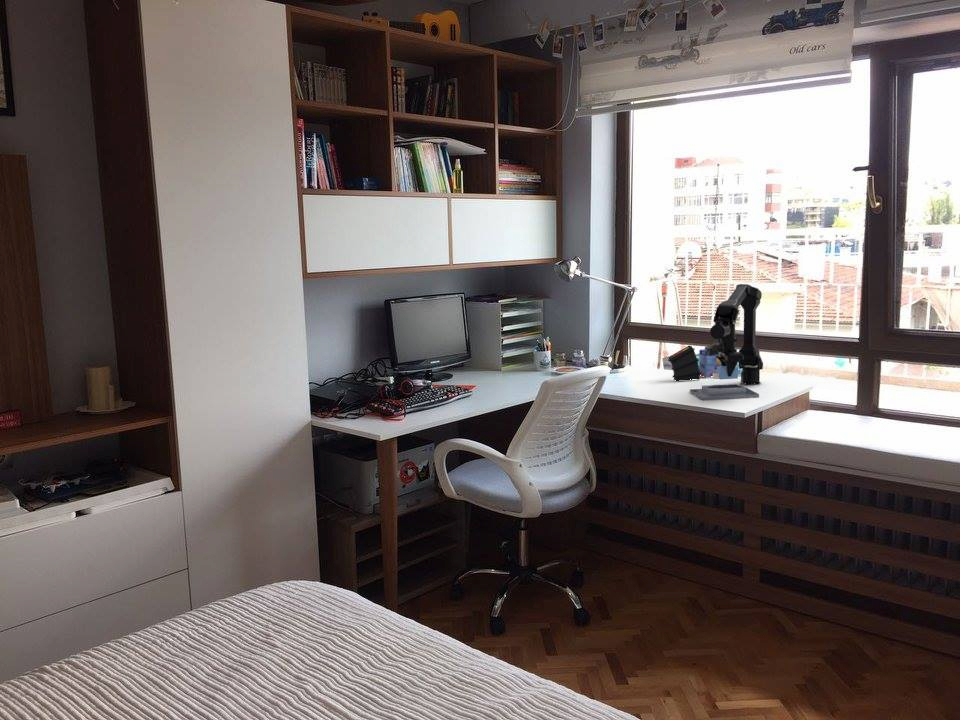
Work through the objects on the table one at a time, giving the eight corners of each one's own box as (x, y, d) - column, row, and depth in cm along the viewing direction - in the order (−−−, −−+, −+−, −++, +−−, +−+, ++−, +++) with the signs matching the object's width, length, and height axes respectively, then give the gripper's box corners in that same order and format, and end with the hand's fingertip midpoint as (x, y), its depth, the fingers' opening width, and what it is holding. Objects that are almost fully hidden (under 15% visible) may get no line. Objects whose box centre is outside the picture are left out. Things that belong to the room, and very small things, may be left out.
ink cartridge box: (706, 378, 354) (705, 345, 352) (698, 376, 359) (698, 344, 357) (724, 376, 357) (724, 343, 355) (716, 374, 363) (716, 342, 360)
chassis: (743, 389, 327) (743, 381, 326) (759, 397, 311) (759, 388, 310) (689, 392, 326) (689, 384, 325) (702, 400, 310) (702, 392, 310)
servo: (734, 376, 320) (734, 363, 319) (737, 378, 316) (737, 365, 315) (711, 377, 319) (711, 364, 318) (715, 379, 315) (715, 366, 315)
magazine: (707, 375, 351) (692, 345, 348) (681, 390, 350) (666, 360, 347) (703, 374, 355) (689, 344, 352) (677, 389, 354) (663, 359, 351)
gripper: (699, 334, 324) (699, 372, 326) (715, 340, 305) (715, 380, 308) (726, 332, 324) (726, 371, 327) (744, 338, 306) (743, 379, 308)
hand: (727, 375), depth 317 cm, fingers closed on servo, 4 cm apart
